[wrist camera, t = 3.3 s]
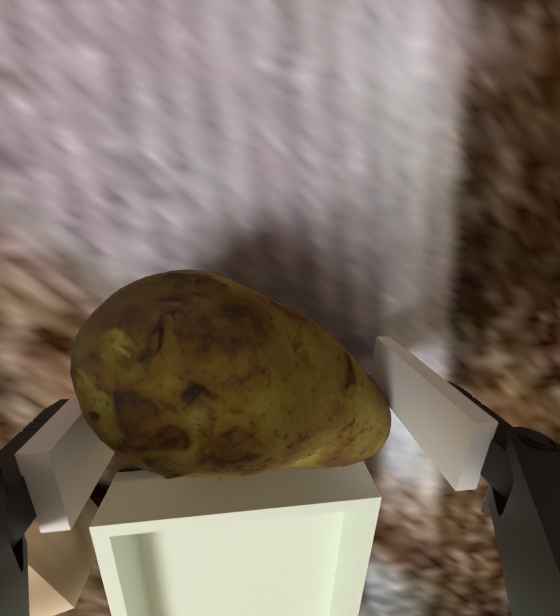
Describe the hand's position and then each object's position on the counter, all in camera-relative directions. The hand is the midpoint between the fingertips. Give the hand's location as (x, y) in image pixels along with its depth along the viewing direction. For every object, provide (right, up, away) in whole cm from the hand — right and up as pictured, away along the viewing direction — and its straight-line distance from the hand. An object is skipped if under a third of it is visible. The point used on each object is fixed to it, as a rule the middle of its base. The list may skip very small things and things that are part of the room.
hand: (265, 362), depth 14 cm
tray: (-2, -17, +6) cm, 18 cm away
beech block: (-12, -10, +2) cm, 16 cm away
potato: (0, 0, +1) cm, 1 cm away
